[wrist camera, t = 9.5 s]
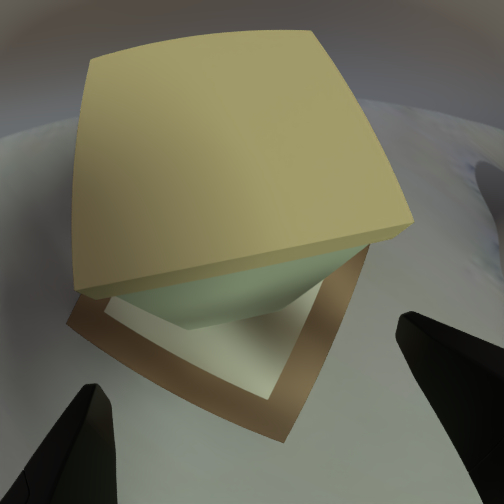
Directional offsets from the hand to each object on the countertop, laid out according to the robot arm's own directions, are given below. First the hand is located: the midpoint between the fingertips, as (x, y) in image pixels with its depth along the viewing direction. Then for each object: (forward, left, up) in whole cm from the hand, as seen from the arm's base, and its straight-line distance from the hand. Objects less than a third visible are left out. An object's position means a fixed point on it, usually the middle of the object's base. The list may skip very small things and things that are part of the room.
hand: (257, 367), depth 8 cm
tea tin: (+4, +3, -8) cm, 9 cm away
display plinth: (+4, +3, -10) cm, 11 cm away
